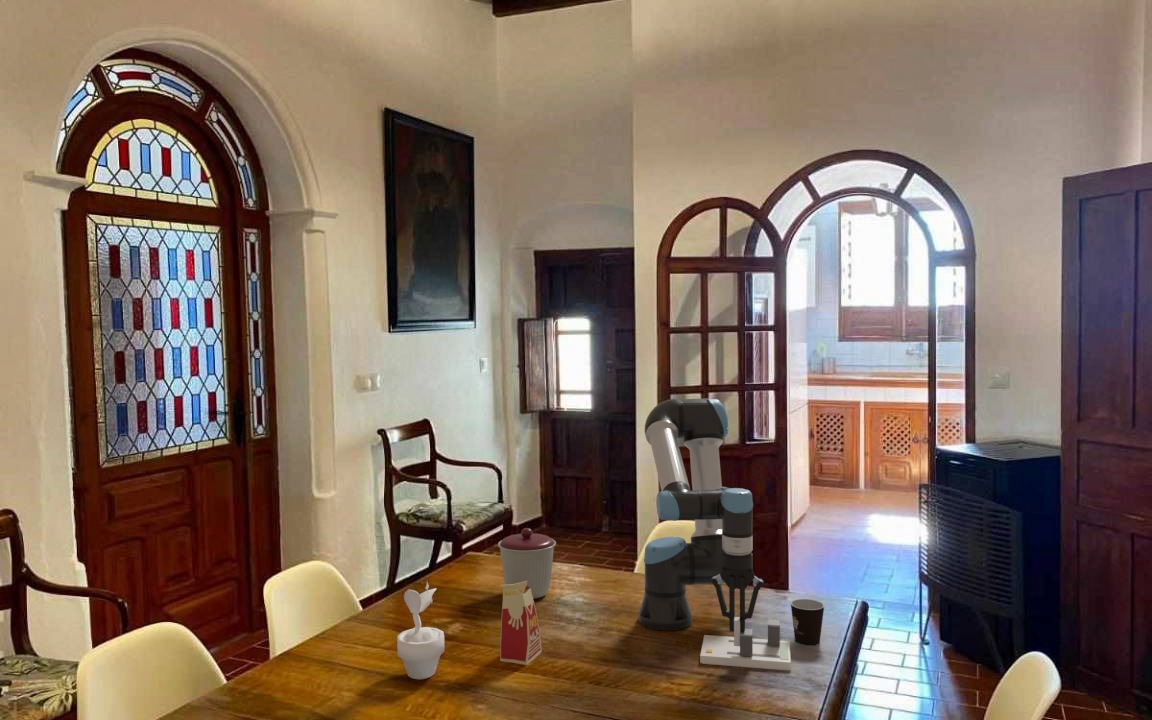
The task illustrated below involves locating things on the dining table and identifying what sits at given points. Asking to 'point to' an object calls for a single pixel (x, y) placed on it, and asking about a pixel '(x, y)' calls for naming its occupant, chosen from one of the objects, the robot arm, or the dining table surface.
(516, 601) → the milk carton
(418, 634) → the potted plant
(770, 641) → the block
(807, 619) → the coffee mug
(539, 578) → the canister
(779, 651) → the panel
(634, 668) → the dining table surface
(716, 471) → the robot arm
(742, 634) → the block
